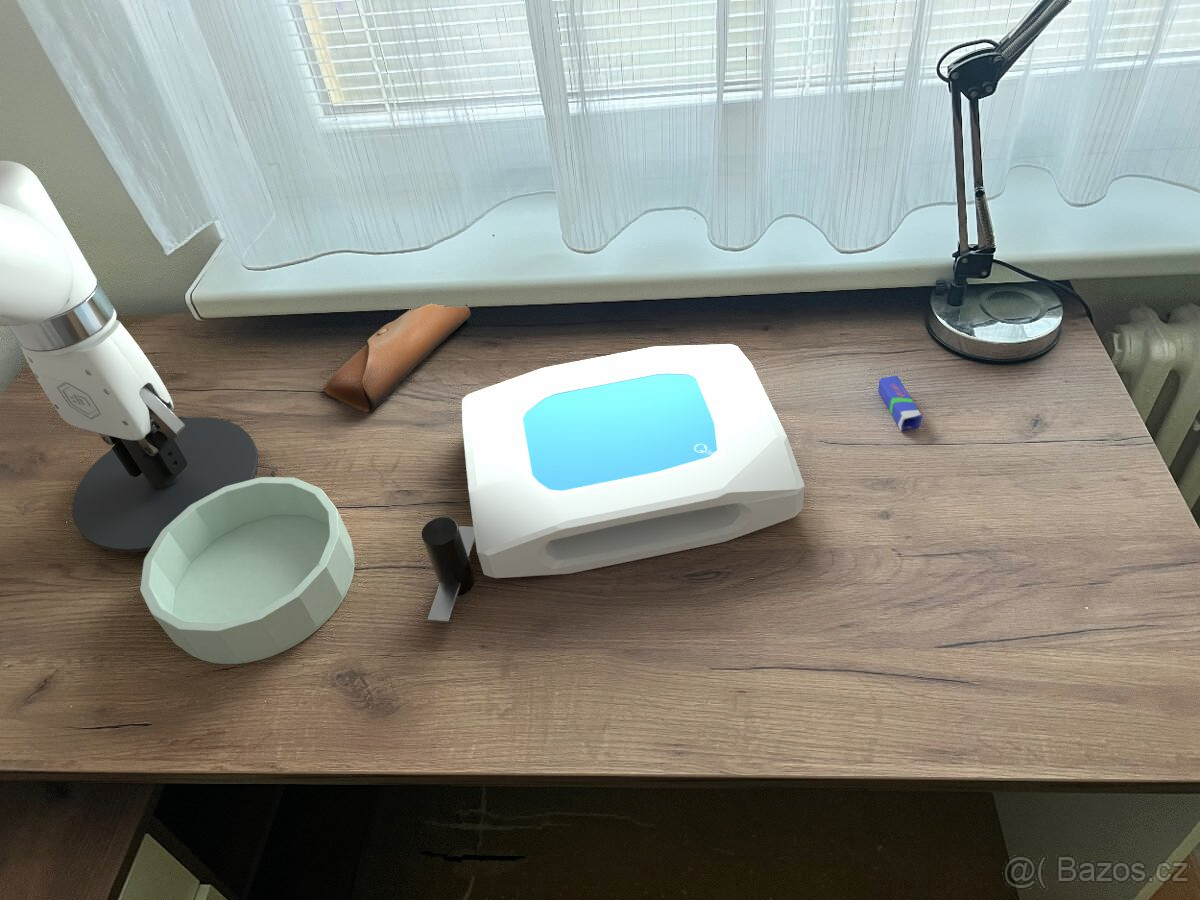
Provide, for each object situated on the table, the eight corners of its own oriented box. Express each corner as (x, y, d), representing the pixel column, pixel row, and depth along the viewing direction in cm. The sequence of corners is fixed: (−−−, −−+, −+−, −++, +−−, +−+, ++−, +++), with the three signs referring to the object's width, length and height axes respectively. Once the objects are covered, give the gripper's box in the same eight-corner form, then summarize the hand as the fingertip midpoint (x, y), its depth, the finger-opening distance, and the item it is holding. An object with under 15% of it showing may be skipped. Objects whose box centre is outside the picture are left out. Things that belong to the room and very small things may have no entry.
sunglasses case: (416, 302, 106) (427, 267, 101) (462, 337, 106) (476, 304, 101) (316, 392, 96) (323, 359, 90) (368, 431, 96) (377, 400, 91)
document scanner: (470, 428, 90) (457, 382, 86) (735, 377, 91) (735, 329, 87) (488, 591, 75) (473, 545, 71) (803, 526, 76) (808, 478, 72)
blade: (459, 632, 72) (440, 581, 67) (425, 630, 73) (403, 579, 68) (488, 538, 79) (472, 486, 74) (456, 537, 80) (438, 485, 75)
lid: (112, 589, 78) (70, 535, 73) (53, 485, 88) (12, 431, 83) (290, 486, 85) (263, 430, 80) (217, 401, 95) (189, 346, 90)
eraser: (899, 433, 83) (902, 417, 82) (876, 393, 88) (879, 377, 86) (919, 430, 83) (922, 414, 82) (896, 389, 88) (898, 374, 86)
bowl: (205, 702, 70) (178, 668, 66) (143, 578, 80) (116, 543, 76) (387, 588, 76) (371, 552, 73) (308, 486, 86) (291, 450, 83)
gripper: (-45, 327, 73) (69, 480, 85) (101, 357, 67) (199, 516, 80) (27, 278, 77) (125, 430, 90) (168, 302, 72) (251, 461, 85)
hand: (159, 469), depth 85 cm, fingers closed on lid, 3 cm apart
